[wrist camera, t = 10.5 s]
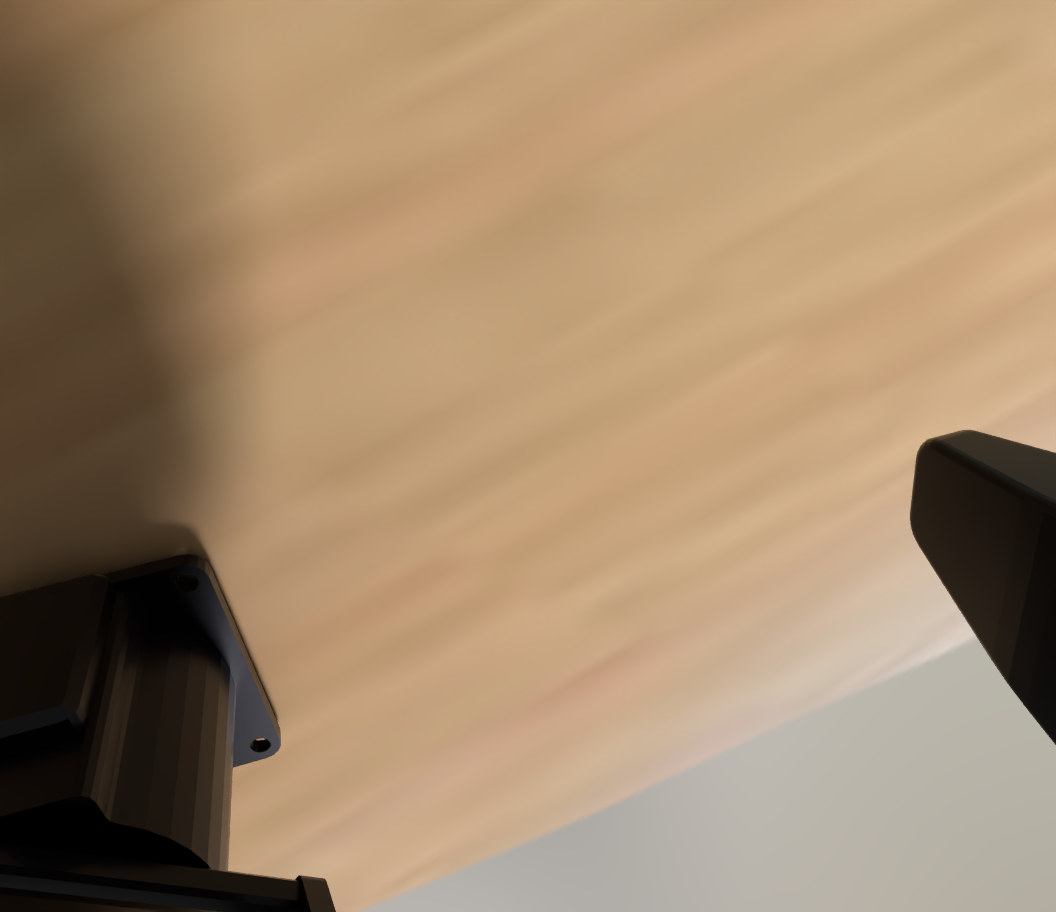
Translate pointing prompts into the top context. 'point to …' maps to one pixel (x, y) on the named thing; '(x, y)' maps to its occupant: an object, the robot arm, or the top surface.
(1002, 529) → the robot arm
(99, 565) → the top surface
